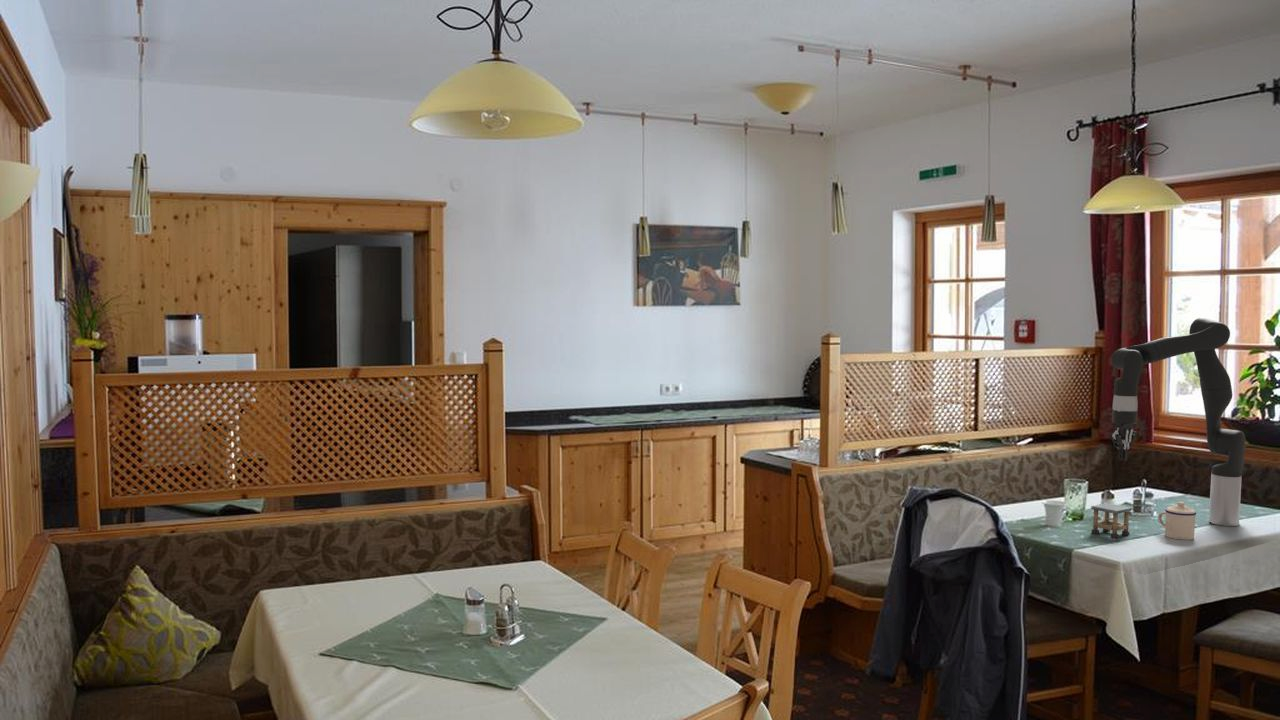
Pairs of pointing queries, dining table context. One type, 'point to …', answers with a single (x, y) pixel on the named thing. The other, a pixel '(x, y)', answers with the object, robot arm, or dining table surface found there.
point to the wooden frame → (1107, 523)
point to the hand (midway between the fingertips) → (1122, 460)
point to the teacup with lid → (1179, 522)
